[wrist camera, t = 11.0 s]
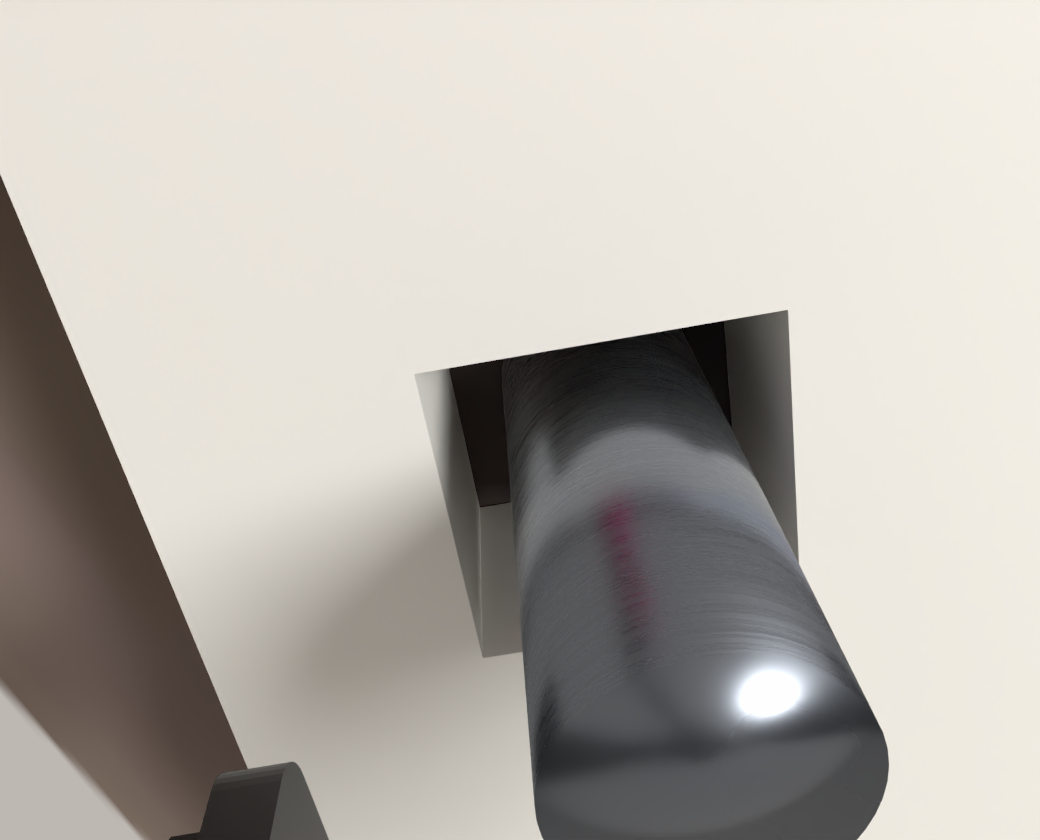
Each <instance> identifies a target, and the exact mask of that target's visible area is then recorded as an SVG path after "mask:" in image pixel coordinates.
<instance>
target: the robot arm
mask: <svg viewBox="0 0 1040 840" xmlns="http://www.w3.org/2000/svg"><path fill="white" fill-rule="evenodd" d="M169 840H329V838H328V836H327V833H326V831H325V828H324V826H323V823H322V821H321V818H320V816H319V813H318V811H317V808H316V805H315V803H314V800H313V798H312V795H311V793H310V790H309V788H308V785H307V783H306V780H305V778H304V775H303V773H302V771H301V769H300V767H299V766H298V765H297V764H296V763H295V762H287V763H281V764H275V765H269V766H263V767H256V768H250V769H244V770H238V771H232V772H226V773H222V774H220V775H219V776H218V777H217V779H216V780H215V782H214V784H213V787H212V790H211V794H210V797H209V801H208V805H207V808H206V812H205V816H204V819H203V823H202V827H201V830H200V832H198V833H192V834H186V835H180V836H174V837H171V838H170V839H169Z"/></svg>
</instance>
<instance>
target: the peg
mask: <svg viewBox="0 0 1040 840" xmlns="http://www.w3.org/2000/svg"><path fill="white" fill-rule="evenodd" d="M501 379H502V392H503V405H504V418H505V431H506V444H507V457H508V470H509V483H510V496H511V509H512V522H513V535H514V548H515V560H516V573H517V586H518V599H519V612H520V625H521V638H522V651H523V664H524V677H525V690H526V703H527V716H528V729H529V742H530V755H531V768H532V781H533V794H534V806H535V813H536V821H537V824H538V827H539V830H540V833H541V836H542V838H543V840H857V839H858V838H859V837H860V836H861V834H862V833H863V832H864V831H865V830H866V828H867V827H868V825H869V824H870V822H871V820H872V819H873V817H874V816H875V814H876V812H877V810H878V808H879V806H880V803H881V801H882V799H883V796H884V793H885V789H886V785H887V782H888V772H889V757H888V748H887V744H886V741H885V737H884V734H883V731H882V729H881V727H880V725H879V723H878V721H877V719H876V717H875V715H874V713H873V711H872V709H871V707H870V705H869V703H868V701H867V699H866V697H865V695H864V693H863V691H862V689H861V687H860V685H859V683H858V681H857V679H856V677H855V675H854V673H853V671H852V669H851V667H850V665H849V663H848V661H847V659H846V657H845V655H844V653H843V651H842V649H841V647H840V645H839V643H838V641H837V639H836V637H835V635H834V633H833V631H832V629H831V627H830V625H829V623H828V621H827V619H826V617H825V615H824V613H823V611H822V609H821V607H820V605H819V603H818V601H817V599H816V597H815V595H814V593H813V591H812V589H811V587H810V585H809V583H808V581H807V579H806V577H805V575H804V573H803V571H802V569H801V567H800V565H799V563H798V561H797V559H796V557H795V555H794V553H793V551H792V549H791V547H790V545H789V543H788V541H787V539H786V537H785V535H784V533H783V531H782V529H781V527H780V525H779V523H778V521H777V519H776V517H775V515H774V513H773V511H772V509H771V507H770V505H769V503H768V501H767V499H766V497H765V495H764V493H763V491H762V489H761V487H760V485H759V483H758V481H757V479H756V477H755V475H754V473H753V471H752V469H751V467H750V465H749V463H748V461H747V459H746V457H745V455H744V453H743V451H742V449H741V447H740V445H739V443H738V441H737V439H736V437H735V435H734V433H733V431H732V429H731V427H730V425H729V423H728V421H727V419H726V417H725V415H724V413H723V411H722V409H721V407H720V405H719V403H718V401H717V399H716V397H715V395H714V393H713V391H712V389H711V387H710V385H709V383H708V381H707V379H706V377H705V375H704V373H703V371H702V369H701V367H700V365H699V363H698V361H697V359H696V357H695V355H694V353H693V351H692V349H691V347H690V345H689V343H688V341H687V339H686V337H685V335H684V333H683V331H682V329H681V328H679V329H673V330H667V331H662V332H656V333H650V334H644V335H638V336H633V337H627V338H621V339H615V340H609V341H604V342H598V343H592V344H586V345H580V346H575V347H569V348H563V349H557V350H551V351H546V352H540V353H534V354H528V355H522V356H517V357H511V358H505V359H503V362H502V375H501Z"/></svg>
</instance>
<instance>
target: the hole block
mask: <svg viewBox="0 0 1040 840" xmlns="http://www.w3.org/2000/svg"><path fill="white" fill-rule="evenodd" d="M0 175H1V177H2V180H3V182H4V184H5V187H6V189H7V192H8V194H9V196H10V199H11V201H12V204H13V206H14V208H15V211H16V213H17V216H18V218H19V220H20V223H21V225H22V228H23V230H24V232H25V235H26V237H27V240H28V242H29V244H30V247H31V249H32V252H33V254H34V256H35V259H36V261H37V264H38V266H39V268H40V271H41V273H42V276H43V278H44V280H45V283H46V285H47V288H48V290H49V292H50V295H51V297H52V300H53V302H54V304H55V307H56V309H57V312H58V314H59V316H60V319H61V321H62V324H63V326H64V328H65V331H66V333H67V336H68V338H69V340H70V343H71V345H72V348H73V350H74V352H75V355H76V357H77V360H78V362H79V364H80V367H81V369H82V372H83V374H84V376H85V379H86V381H87V384H88V386H89V388H90V391H91V393H92V396H93V398H94V400H95V403H96V405H97V408H98V410H99V412H100V415H101V417H102V420H103V422H104V424H105V427H106V429H107V432H108V434H109V436H110V439H111V441H112V444H113V446H114V448H115V451H116V453H117V456H118V458H119V460H120V463H121V465H122V468H123V470H124V472H125V475H126V477H127V480H128V482H129V484H130V487H131V489H132V492H133V494H134V496H135V499H136V501H137V504H138V506H139V508H140V511H141V513H142V516H143V518H144V520H145V523H146V525H147V528H148V530H149V532H150V535H151V537H152V540H153V542H154V544H155V547H156V549H157V552H158V554H159V556H160V559H161V561H162V564H163V566H164V568H165V571H166V573H167V576H168V578H169V580H170V583H171V585H172V588H173V590H174V592H175V595H176V597H177V600H178V602H179V604H180V607H181V609H182V612H183V614H184V616H185V619H186V621H187V624H188V626H189V628H190V631H191V633H192V636H193V638H194V640H195V643H196V645H197V648H198V650H199V652H200V655H201V657H202V660H203V662H204V664H205V667H206V669H207V672H208V674H209V676H210V679H211V681H212V684H213V686H214V688H215V691H216V693H217V696H218V698H219V700H220V703H221V705H222V708H223V710H224V712H225V715H226V717H227V720H228V722H229V724H230V727H231V729H232V732H233V734H234V736H235V739H236V741H237V744H238V746H239V748H240V751H241V753H242V756H243V758H244V760H245V763H246V765H247V768H248V769H250V768H256V767H263V766H269V765H275V764H281V763H287V762H295V763H296V764H297V765H298V766H299V767H300V769H301V771H302V773H303V775H304V778H305V780H306V783H307V785H308V788H309V790H310V793H311V795H312V798H313V800H314V803H315V805H316V808H317V811H318V813H319V816H320V818H321V821H322V823H323V826H324V828H325V831H326V833H327V836H328V838H329V840H543V838H542V836H541V833H540V830H539V827H538V824H537V821H536V813H535V806H534V794H533V781H532V768H531V755H530V742H529V729H528V716H527V703H526V690H525V677H524V664H523V651H522V638H521V625H520V612H519V599H518V586H517V573H516V560H515V548H514V535H513V522H512V509H511V502H510V503H504V504H498V505H492V506H486V507H480V506H479V501H478V497H477V492H476V488H475V483H474V479H473V474H472V470H471V465H470V461H469V456H468V452H467V447H466V443H465V438H464V434H463V429H462V425H461V420H460V416H459V411H458V407H457V402H456V398H455V393H454V389H453V384H452V380H451V376H450V371H449V368H453V367H459V366H464V365H470V364H476V363H482V362H488V361H493V360H499V359H505V358H511V357H517V356H522V355H528V354H534V353H540V352H546V351H551V350H557V349H563V348H569V347H575V346H580V345H586V344H592V343H598V342H604V341H609V340H615V339H621V338H627V337H633V336H638V335H644V334H650V333H656V332H662V331H667V330H673V329H679V328H685V327H691V326H696V325H702V324H708V323H714V322H720V321H724V330H725V343H726V356H727V369H728V382H729V395H730V409H731V422H732V431H733V433H734V435H735V437H736V439H737V441H738V443H739V445H740V447H741V449H742V451H743V453H744V455H745V457H746V459H747V461H748V463H749V465H750V467H751V469H752V471H753V473H754V475H755V477H756V479H757V481H758V483H759V485H760V487H761V489H762V491H763V493H764V495H765V497H766V499H767V501H768V503H769V505H770V507H771V509H772V511H773V513H774V515H775V517H776V519H777V521H778V523H779V525H780V527H781V529H782V531H783V533H784V535H785V537H786V539H787V541H788V543H789V545H790V547H791V549H792V551H793V553H794V555H795V557H796V559H797V561H798V563H799V565H800V567H801V569H802V571H803V573H804V575H805V577H806V579H807V581H808V583H809V585H810V587H811V589H812V591H813V593H814V595H815V597H816V599H817V601H818V603H819V605H820V607H821V609H822V611H823V613H824V615H825V617H826V619H827V621H828V623H829V625H830V627H831V629H832V631H833V633H834V635H835V637H836V639H837V641H838V643H839V645H840V647H841V649H842V651H843V653H844V655H845V657H846V659H847V661H848V663H849V665H850V667H851V669H852V671H853V673H854V675H855V677H856V679H857V681H858V683H859V685H860V687H861V689H862V691H863V693H864V695H865V697H866V699H867V701H868V703H869V705H870V707H871V709H872V711H873V713H874V715H875V717H876V719H877V721H878V723H879V725H880V727H881V729H882V731H883V734H884V737H885V741H886V744H887V748H888V757H889V772H888V782H887V785H886V789H885V793H884V796H883V799H882V801H881V803H880V806H879V808H878V810H877V812H876V814H875V816H874V817H873V819H872V820H871V822H870V824H869V825H868V827H867V828H866V830H865V831H864V832H863V833H862V834H861V836H860V837H859V838H858V839H857V840H1040V0H0Z"/></svg>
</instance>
